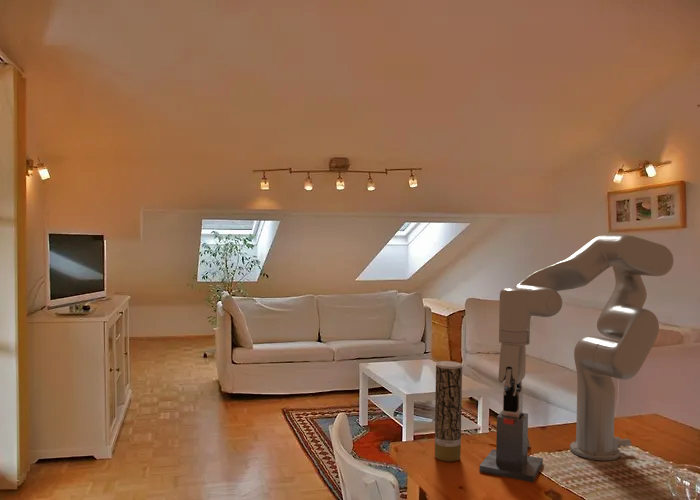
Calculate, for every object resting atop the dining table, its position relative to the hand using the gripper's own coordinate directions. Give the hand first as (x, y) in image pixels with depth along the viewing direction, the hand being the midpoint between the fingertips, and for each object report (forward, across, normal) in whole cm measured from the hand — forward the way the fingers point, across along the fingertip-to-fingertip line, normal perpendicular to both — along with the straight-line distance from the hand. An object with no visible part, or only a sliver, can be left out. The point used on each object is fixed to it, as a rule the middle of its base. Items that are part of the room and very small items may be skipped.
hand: (512, 407), depth 148 cm
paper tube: (+16, +2, -16) cm, 23 cm away
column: (+13, 0, 0) cm, 13 cm away
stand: (+15, 0, 0) cm, 15 cm away
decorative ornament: (+16, -19, -2) cm, 25 cm away
